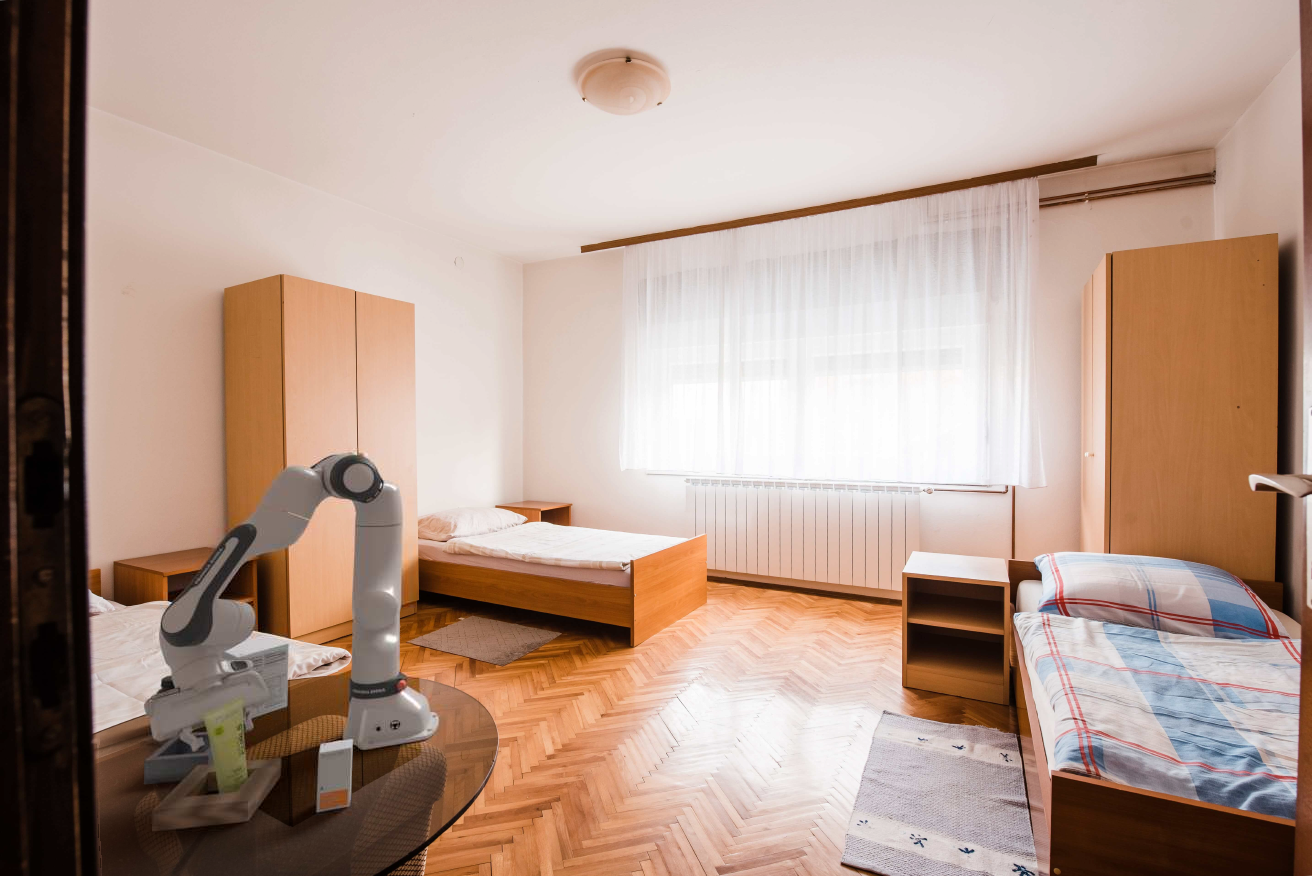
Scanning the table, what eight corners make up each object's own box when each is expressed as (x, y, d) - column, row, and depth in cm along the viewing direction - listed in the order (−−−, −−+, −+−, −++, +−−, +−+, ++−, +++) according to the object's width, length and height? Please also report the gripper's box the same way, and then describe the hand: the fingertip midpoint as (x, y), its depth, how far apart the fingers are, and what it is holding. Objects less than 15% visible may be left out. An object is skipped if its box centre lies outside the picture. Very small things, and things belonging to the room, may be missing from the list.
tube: (242, 800, 122) (231, 709, 120) (213, 806, 120) (202, 714, 119) (252, 783, 127) (242, 695, 125) (225, 788, 126) (214, 700, 124)
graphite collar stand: (234, 750, 142) (234, 729, 142) (207, 778, 130) (208, 755, 130) (176, 755, 139) (176, 734, 140) (143, 784, 128) (144, 760, 128)
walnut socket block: (280, 776, 132) (281, 758, 132) (247, 821, 116) (248, 800, 116) (197, 784, 128) (198, 765, 128) (152, 831, 113) (152, 809, 113)
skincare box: (316, 814, 119) (317, 753, 119) (318, 802, 122) (319, 743, 123) (350, 807, 121) (351, 747, 121) (351, 795, 125) (353, 737, 125)
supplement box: (288, 706, 166) (290, 643, 166) (235, 724, 155) (236, 657, 155) (265, 695, 173) (266, 634, 174) (212, 711, 162) (213, 647, 162)
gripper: (146, 689, 117) (168, 753, 112) (258, 657, 135) (282, 711, 130) (136, 707, 119) (157, 770, 114) (247, 673, 137) (270, 727, 132)
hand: (224, 739), depth 122 cm, fingers open, 8 cm apart
